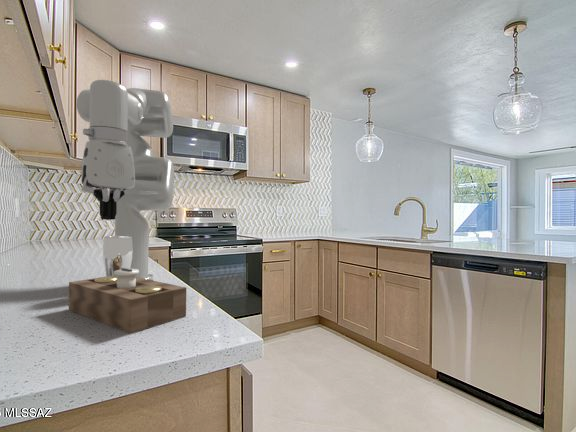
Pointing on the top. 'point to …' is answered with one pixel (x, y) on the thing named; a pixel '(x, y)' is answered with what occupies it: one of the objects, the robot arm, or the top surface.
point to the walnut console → (127, 303)
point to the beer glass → (117, 253)
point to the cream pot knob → (126, 277)
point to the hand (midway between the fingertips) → (108, 219)
